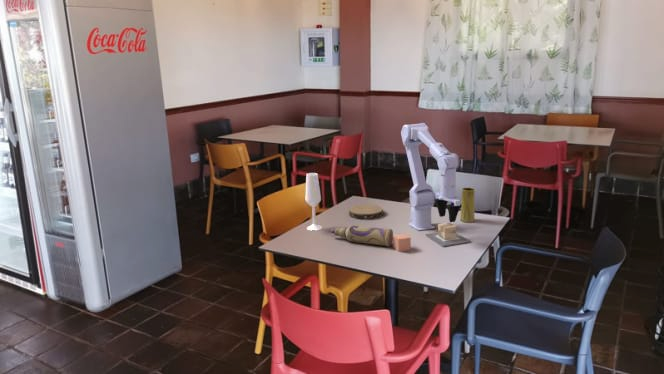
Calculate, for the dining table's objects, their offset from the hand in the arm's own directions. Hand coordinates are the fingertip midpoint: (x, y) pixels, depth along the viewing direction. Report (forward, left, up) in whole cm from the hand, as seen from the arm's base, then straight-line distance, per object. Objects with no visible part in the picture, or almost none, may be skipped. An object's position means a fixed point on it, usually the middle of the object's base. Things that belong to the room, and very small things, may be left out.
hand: (447, 218), depth 199 cm
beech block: (0, 0, -8) cm, 8 cm away
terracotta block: (+2, -21, -8) cm, 22 cm away
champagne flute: (-35, -44, -9) cm, 57 cm away
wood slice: (-44, -17, -9) cm, 48 cm away
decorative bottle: (-11, -31, -9) cm, 34 cm away
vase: (-17, +20, -9) cm, 28 cm away
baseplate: (0, 0, -8) cm, 8 cm away
